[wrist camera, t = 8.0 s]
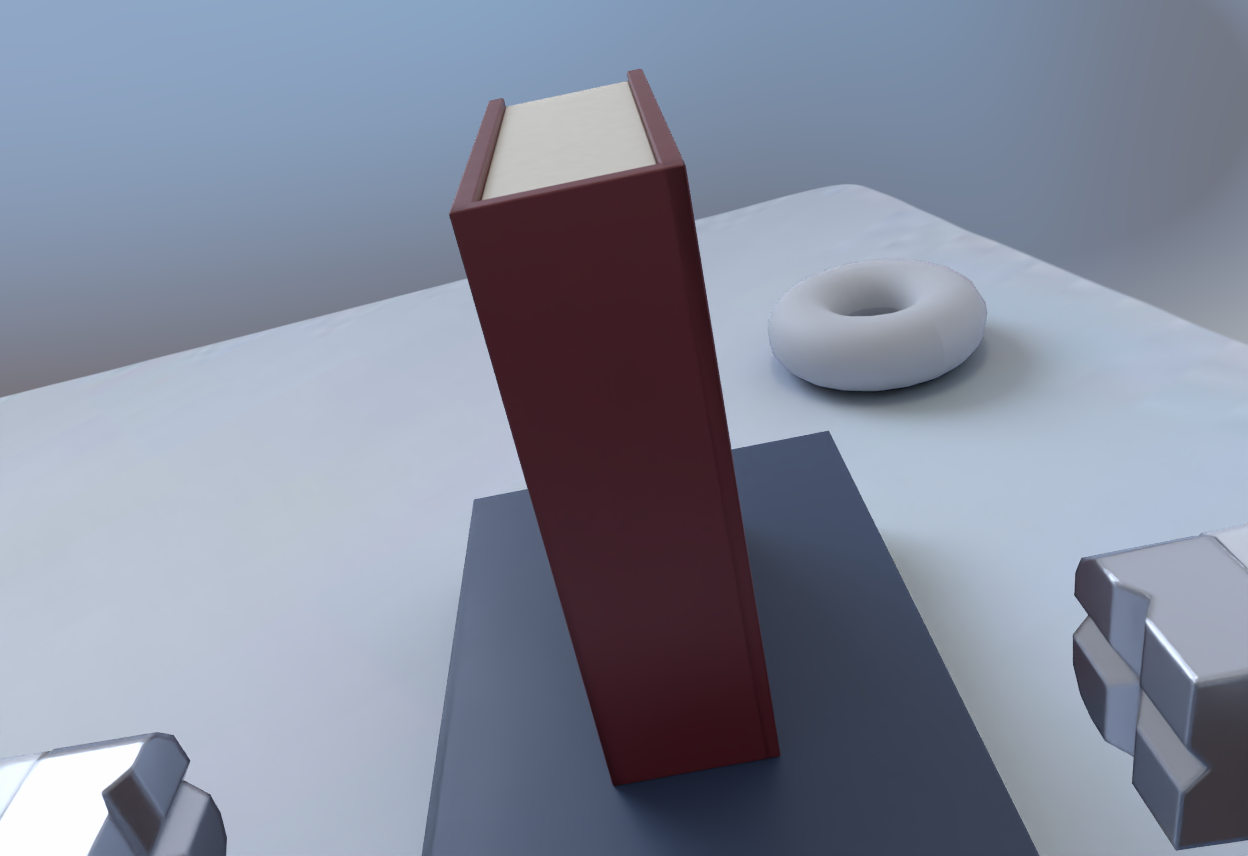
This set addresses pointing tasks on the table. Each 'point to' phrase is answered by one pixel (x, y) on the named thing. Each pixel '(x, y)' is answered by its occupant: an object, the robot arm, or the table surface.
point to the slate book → (800, 690)
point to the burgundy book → (620, 420)
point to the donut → (877, 324)
